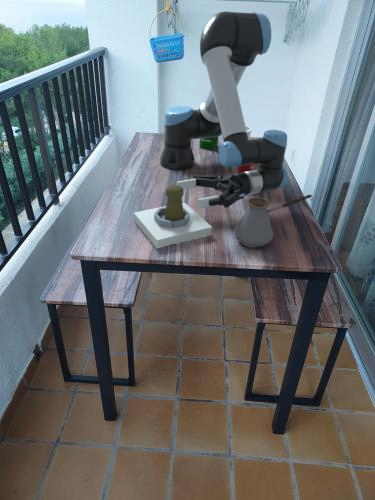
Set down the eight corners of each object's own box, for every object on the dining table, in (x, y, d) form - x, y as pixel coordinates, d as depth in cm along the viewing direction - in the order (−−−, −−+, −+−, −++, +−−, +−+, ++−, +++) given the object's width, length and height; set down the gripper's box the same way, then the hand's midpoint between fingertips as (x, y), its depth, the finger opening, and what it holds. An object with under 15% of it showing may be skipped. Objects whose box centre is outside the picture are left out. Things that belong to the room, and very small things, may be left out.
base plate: (134, 220, 115) (133, 206, 112) (184, 210, 122) (184, 196, 120) (157, 249, 102) (156, 234, 99) (211, 235, 109) (212, 221, 107)
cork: (188, 220, 109) (189, 187, 102) (172, 226, 106) (172, 194, 99) (176, 211, 113) (176, 179, 106) (160, 217, 110) (159, 185, 103)
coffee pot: (237, 252, 102) (244, 204, 94) (229, 231, 112) (234, 186, 103) (309, 250, 104) (322, 203, 96) (295, 230, 114) (306, 186, 106)
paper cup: (252, 191, 138) (257, 155, 130) (232, 188, 139) (236, 153, 131) (253, 183, 144) (258, 148, 136) (234, 181, 145) (238, 146, 138)
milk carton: (197, 148, 178) (199, 105, 167) (203, 143, 185) (206, 102, 174) (214, 151, 176) (217, 108, 165) (219, 145, 183) (223, 104, 172)
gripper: (267, 210, 110) (207, 224, 101) (223, 180, 128) (169, 190, 119) (271, 187, 106) (209, 200, 97) (225, 160, 124) (169, 168, 115)
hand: (187, 194), depth 108 cm, fingers open, 13 cm apart
